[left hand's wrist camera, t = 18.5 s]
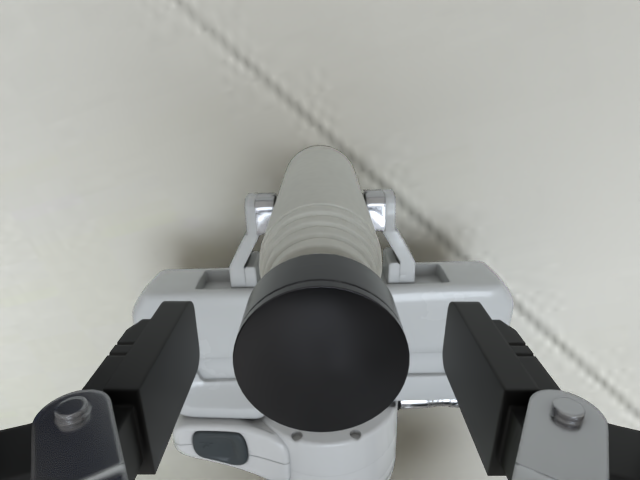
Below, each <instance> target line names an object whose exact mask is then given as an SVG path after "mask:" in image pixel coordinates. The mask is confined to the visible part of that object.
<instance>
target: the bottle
mask: <svg viewBox="0 0 640 480" xmlns="http://www.w3.org/2000/svg"><path fill="white" fill-rule="evenodd" d="M320 253H322V254H335V255H339V256H344V257H347V258H350V259H353V260H355V261H357V262H359V263H362V264H363V265H365V266H367V267H368V268H370V269H371V270H372V271H373V272H375V273H376V274H377V275H378V276H379V277H380V278H381V274H382V253H381V247H380V243H379V240H378V237H377V234H376V231H375V228H374V225H373V222H372V219H371V217H370V214H369V211H368V208H367V205H366V202H365V199H364V196H363V194H362V191H361V188H360V185H359V182H358V179H357V176H356V173H355V171H354V168H353V166H352V164H351V162H350V161H349V159H348V158H347V157H346V156H345V155H344V154H343V153H341V152H340V151H338V150H337V149H334V148H332V147H328V146H312V147H309V148H306V149H304V150H302V151H301V152H299V153H298V154H297V155H295V156H294V158H293V159H292V160H291V161H290V163H289V165H288V167H287V169H286V172H285V175H284V178H283V181H282V184H281V187H280V190H279V193H278V196H277V199H276V202H275V205H274V208H273V211H272V214H271V217H270V220H269V223H268V226H267V229H266V232H265V235H264V238H263V241H262V244H261V248H260V257H259V271H260V277H261V278H262V277H263V276H264V275H265V274H266V273H268V272H269V271H270V270H271V269H273V268H274V267H276V266H277V265H279V264H281V263H283V262H285V261H287V260H289V259H292V258H295V257H298V256H301V255H308V254H320Z"/></svg>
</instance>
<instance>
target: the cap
mask: <svg viewBox="0 0 640 480" xmlns="http://www.w3.org/2000/svg"><path fill="white" fill-rule="evenodd" d="M409 365H410V353H409V346H408V342H407V339H406V336H405V333H404V330H403V327H402V324H401V321H400V317H399V314H398V311H397V308H396V305H395V302H394V299H393V296H392V294H391V292H390V290H389V289H388V287H387V286H386V284H385V283H384V281H383V280H382V279H381V278H380V277H379V276H378V275H377V274H376V273H375V272H373V271H372V270H371V269H370V268H368V267H367V266H365V265H363V264H362V263H359V262H357V261H355V260H353V259H350V258H347V257H344V256H339V255H335V254H322V253H320V254H308V255H301V256H298V257H295V258H292V259H289V260H287V261H285V262H283V263H281V264H279V265H277V266H276V267H274V268H273V269H271V270H270V271H269V272H268V273H266V274H265V275H264V276H263V277H262V278H261V279H260V280H259V282H258V283H257V284H256V286H255V287H254V289H253V290H252V292H251V294H250V296H249V299H248V302H247V305H246V308H245V312H244V315H243V318H242V321H241V325H240V328H239V331H238V334H237V337H236V341H235V344H234V349H233V368H234V374H235V377H236V380H237V383H238V385H239V387H240V389H241V391H242V393H243V394H244V396H245V397H246V398H247V400H248V401H249V402H250V403H251V404H252V405H253V406H254V407H255V408H256V409H257V410H258V411H259V412H261V413H262V414H263V415H265V416H266V417H268V418H269V419H271V420H273V421H275V422H277V423H279V424H281V425H284V426H287V427H289V428H293V429H297V430H301V431H308V432H334V431H341V430H345V429H349V428H353V427H356V426H358V425H361V424H363V423H365V422H367V421H369V420H371V419H373V418H374V417H376V416H377V415H379V414H380V413H382V412H383V411H384V410H385V409H386V408H388V407H389V405H390V404H391V403H392V402H393V401H394V400H395V399H396V397H397V396H398V394H399V393H400V391H401V390H402V388H403V386H404V384H405V381H406V378H407V375H408V370H409Z"/></svg>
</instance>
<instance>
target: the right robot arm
mask: <svg viewBox="0 0 640 480" xmlns="http://www.w3.org/2000/svg"><path fill="white" fill-rule="evenodd" d="M363 196H364V199H365V202H366V205H367V208H368V211H369V214H370V217H371V219H372V222H373V225H374V228H375V231H382V232H383V234H384V236H385V237H386V239H387V241H388V242H389V244H390V246H391V247H392V248H384V249H383V263H382V274H381V279H382V280H383V281H384V283H385V284H386V286H387V287H388V289H389V290H390V292H391V294H392V296H393V299H394V302H395V305H396V308H397V311H398V314H399V317H400V321H401V324H402V327H403V330H404V333H405V336H406V339H407V342H408V346H409V353H410V365H409V370H408V375H407V378H406V381H405V384H404V386H403V388H402V390H401V391H400V393H399V394H398V396H397V397H396V399H395V400H394V401H393V402H392V403H391V404H390V405H389V407H388V408H386V409H385V410H384V411H383V412H382V413H380V414H379V415H377V416H376V417H374V418H373V419H371V420H369V421H367V422H365V423H363V424H361V425H358V426H356V427H353V428H349V429H345V430H341V431H334V432H308V431H301V430H297V429H293V428H289V427H287V426H284V425H281V424H279V423H277V422H275V421H273V420H271V419H269V418H268V417H266V416H265V415H263V414H262V413H261V412H259V411H258V410H257V409H256V408H255V407H254V406H253V405H252V404H251V403H250V402H249V401H248V400H247V398H246V397H245V396H244V394H243V393H242V391H241V389H240V387H239V385H238V383H237V380H236V377H235V374H234V368H233V349H234V344H235V341H236V337H237V334H238V331H239V328H240V325H241V321H242V318H243V315H244V312H245V308H246V305H247V302H248V299H249V296H250V294H251V292H252V290H253V289H254V287H255V286H256V284H257V283H258V282H259V280H260V279H261V277H260V271H259V257H260V252H259V251H252V250H253V248H254V246H255V244H256V242H257V240H258V238H259V236H260V234H265V232H266V229H267V226H268V223H269V220H270V217H271V214H272V211H273V208H274V205H275V202H276V199H277V194H276V193H249V194H248V195H247V197H246V199H245V217H246V227H247V231H246V233H245V235H244V237H243V239H242V241H241V243H240V245H239V247H238V249H237V251H236V253H235V255H234V257H233V259H232V261H231V264H230V266H229V268H202V269H167V270H163V271H161V272H159V273H158V274H157V275H156V276H155V277H154V278H153V280H152V281H151V282H150V283H149V284H148V285H147V286H146V287H145V289H144V290H143V291H142V293H141V294H140V296H139V297H138V299H137V301H136V303H135V305H134V308H133V323H134V325H135V324H136V323H137V322H139V321H140V320H142V319H151V318H152V316H153V315H154V313H155V312H156V310H157V309H158V307H159V306H160V304H161V303H162V302H163V301H192V302H193V304H194V308H195V316H196V324H197V332H198V340H199V349H200V358H199V366H198V370H197V373H196V376H195V378H194V381H193V383H192V386H191V388H190V390H189V393H188V395H187V398H186V400H185V403H184V405H183V408H182V410H181V412H180V415H179V417H178V420H177V422H176V425H175V427H174V430H173V440H174V445H175V447H176V449H177V450H178V451H179V452H180V453H182V454H184V455H187V456H190V457H194V458H199V459H203V460H208V461H212V462H217V463H221V464H225V465H228V466H232V467H235V468H239V469H242V470H245V471H248V472H251V473H253V474H256V475H258V476H261V477H263V478H265V479H267V480H390V477H391V475H392V472H393V468H394V464H395V457H396V435H397V410H399V409H402V408H403V409H412V408H428V407H435V406H449V407H459V405H458V403H457V400H456V398H455V395H454V393H453V390H452V388H451V386H450V383H449V381H448V378H447V376H446V374H445V371H444V366H443V357H442V351H443V342H444V334H445V326H446V318H447V310H448V306H449V303H450V302H480V303H481V304H482V306H483V307H484V309H485V310H486V312H487V313H488V315H489V316H490V317H491V319H492V320H501V321H503V322H504V323H506V324H507V325H508V326H510V321H511V317H512V312H513V306H514V301H513V296H512V294H511V292H510V290H509V289H508V287H507V286H506V284H505V283H504V282H503V281H502V279H501V278H500V277H499V276H498V275H497V274H496V273H495V272H494V271H493V270H492V269H491V268H490V267H489V266H488V265H487V264H485V263H484V262H482V261H450V262H415V260H414V258H413V256H412V254H411V252H410V250H409V248H408V246H407V244H406V243H405V241H404V239H403V237H402V236H401V234H400V232H399V231H398V229H397V227H396V225H395V215H396V199H395V194H394V192H393V191H392V189H377V190H364V192H363Z"/></svg>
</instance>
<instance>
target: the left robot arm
mask: <svg viewBox="0 0 640 480" xmlns="http://www.w3.org/2000/svg"><path fill="white" fill-rule="evenodd" d="M442 357H443V366H444V371H445V374H446V376H447V378H448V381H449V383H450V386H451V388H452V390H453V393H454V395H455V398H456V400H457V403H458V405H459V407H460V410H461V412H462V415H463V417H464V419H465V422H466V424H467V427H468V429H469V431H470V434H471V436H472V439H473V441H474V443H475V446H476V448H477V451H478V453H479V456H480V458H481V460H482V463H483V465H484V468H485V470H486V472H487V475H488V476H507V479H508V480H640V431H638V430H633V429H629V428H625V427H620V426H616V425H612V424H609V423H607V421H606V418H605V417H604V415H603V414H602V413H601V412H600V411H599V410H598V409H597V408H596V407H595V406H594V405H592V404H591V403H590V402H588V401H586V400H585V399H583V398H581V397H579V396H577V395H574V394H571V393H569V392H565V391H561V390H560V388H559V387H558V386H557V384H556V383H555V382H554V380H553V379H552V378H551V376H550V375H549V374H548V372H547V371H546V370H545V368H544V367H543V366H542V364H541V363H540V362H539V361H538V359H537V358H536V357H535V356H533V353H532V351H531V350H530V349H529V347H528V346H526V345H525V342H524V341H523V339H522V338H521V337H520V335H519V334H518V333H517V331H516V330H514V329H513V328H511V327H510V326H508V325H507V324H506V323H504V322H503V321H501V320H492V319H491V317H490V316H489V315H488V313H487V312H486V310H485V309H484V307H483V306H482V304H481V303H480V302H450V303H449V306H448V310H447V318H446V326H445V334H444V342H443V351H442ZM199 358H200V349H199V340H198V332H197V324H196V316H195V308H194V304H193V302H192V301H163V302H162V303H161V304H160V306H159V307H158V309H157V310H156V312H155V313H154V315H153V316H152V318H151V319H142V320H140V321H139V322H137V323H136V324H135V325H133V326H132V327H130V328H129V329H127V330H126V332H125V333H124V334H123V336H122V337H121V338H120V340H119V341H118V342H117V345H115V346H114V348H113V349H112V350H111V352H110V355H109V356H107V357H106V358H105V360H104V361H103V362H102V364H101V365H100V366H99V368H98V369H97V370H96V372H95V373H94V374H93V376H92V377H91V378H90V380H89V381H88V382H87V384H86V385H85V386H84V388H83V389H82V390H80V391H75V392H71V393H69V394H66V395H63V396H61V397H59V398H57V399H55V400H54V401H52V402H50V403H49V404H48V405H46V406H45V407H44V408H43V409H42V410H41V411H40V412H39V413H38V414H37V415H36V417H35V418H34V421H33V423H31V424H27V425H22V426H18V427H14V428H9V429H5V430H0V480H135V478H136V476H137V474H156V471H157V469H158V466H159V464H160V461H161V459H162V456H163V454H164V452H165V449H166V447H167V444H168V442H169V439H170V437H171V434H172V432H173V430H174V427H175V425H176V422H177V420H178V417H179V415H180V412H181V410H182V408H183V405H184V403H185V400H186V398H187V395H188V393H189V390H190V388H191V386H192V383H193V381H194V378H195V376H196V373H197V370H198V366H199Z"/></svg>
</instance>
